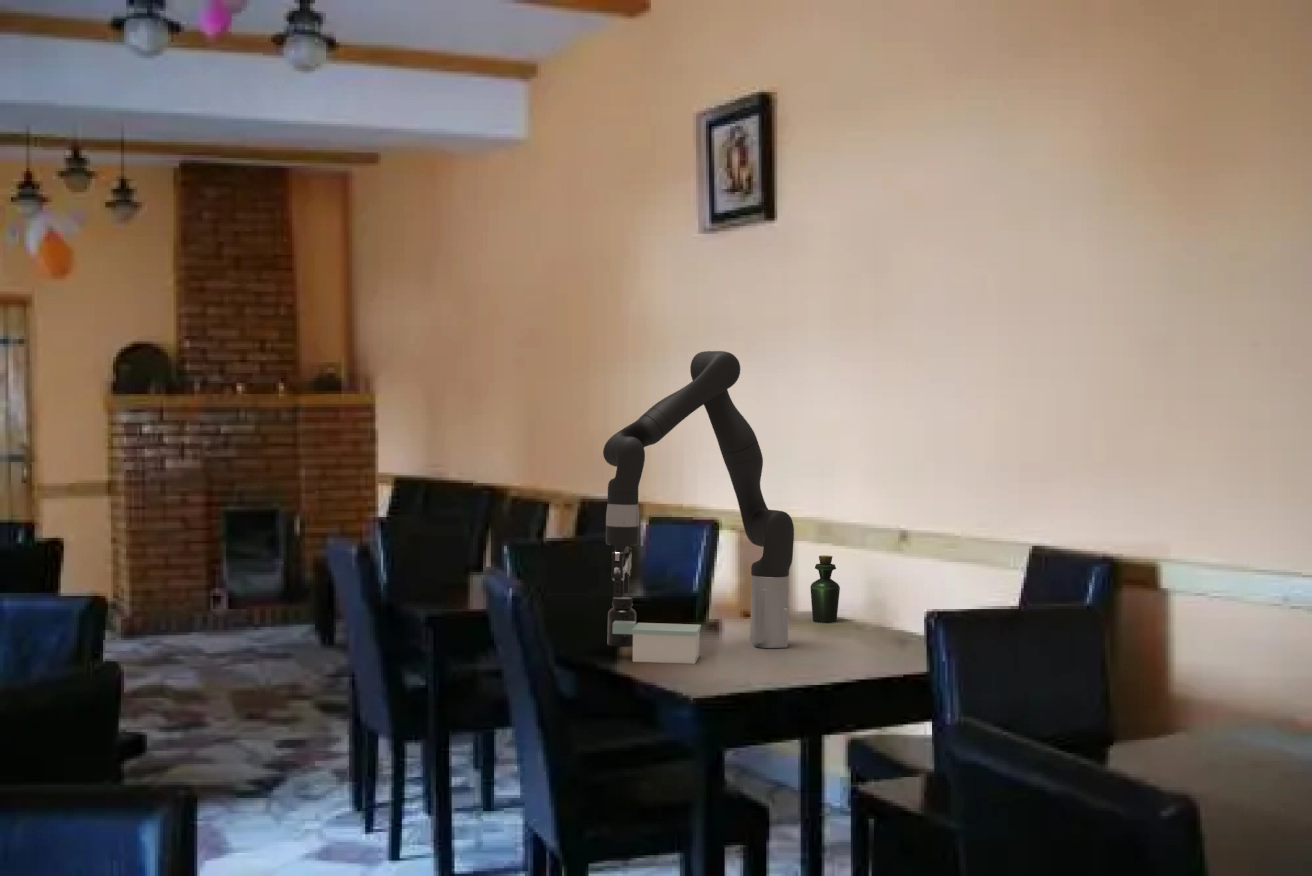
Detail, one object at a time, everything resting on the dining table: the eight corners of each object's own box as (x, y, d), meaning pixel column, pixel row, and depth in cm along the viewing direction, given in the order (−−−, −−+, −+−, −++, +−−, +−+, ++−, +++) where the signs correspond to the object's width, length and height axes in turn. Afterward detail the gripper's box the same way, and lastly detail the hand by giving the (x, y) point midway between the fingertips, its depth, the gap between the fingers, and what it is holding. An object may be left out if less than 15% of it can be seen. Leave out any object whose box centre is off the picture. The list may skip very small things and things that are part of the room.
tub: (699, 659, 318) (699, 629, 318) (694, 667, 308) (695, 635, 308) (638, 657, 320) (639, 627, 320) (632, 664, 310) (632, 633, 310)
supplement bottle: (632, 650, 329) (632, 600, 329) (604, 649, 331) (605, 599, 330) (638, 645, 336) (639, 596, 336) (611, 644, 337) (611, 595, 337)
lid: (700, 633, 318) (700, 621, 318) (696, 640, 308) (696, 628, 307) (617, 630, 320) (617, 618, 320) (610, 637, 310) (610, 625, 310)
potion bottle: (826, 618, 387) (827, 554, 387) (845, 622, 380) (846, 556, 380) (803, 620, 382) (804, 555, 382) (822, 624, 376) (823, 558, 375)
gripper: (634, 526, 307) (632, 599, 307) (643, 522, 321) (641, 592, 321) (601, 525, 308) (599, 598, 308) (611, 521, 322) (609, 591, 322)
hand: (621, 595), depth 315 cm, fingers open, 8 cm apart
